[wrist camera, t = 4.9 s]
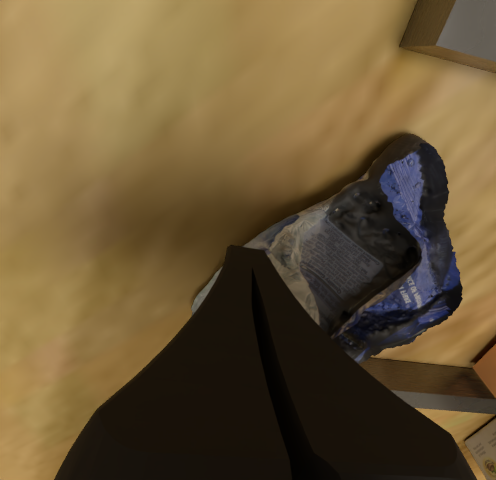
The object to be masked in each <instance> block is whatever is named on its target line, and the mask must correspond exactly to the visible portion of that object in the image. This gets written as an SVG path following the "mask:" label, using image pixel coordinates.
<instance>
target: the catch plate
mask: <svg viewBox="0 0 496 480" xmlns="http://www.w3.org/2000/svg"><path fill="white" fill-rule="evenodd" d="M472 368H473V369H474V370H475V372H476V373H477V374H478V375H479V377H480V378H481V379H482V381H483V382H484V383H485V385H486V386H487V387H488V389H489V390H490V391H491V393H492V394H493V395H494V397H495V398H496V344H495V345H494V346H493V347H492V348H491V349H490V350H489V351H488V352H487V353H486V354H485V355H484V356H483V357H482V358H481V359H480V360H479V361H478V362H477V363H476V364H475V365H474V366H473V367H472Z"/></svg>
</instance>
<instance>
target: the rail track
mask: <svg viewBox="0 0 496 480" xmlns="http://www.w3.org/2000/svg"><path fill="white" fill-rule="evenodd" d="M400 47H401V48H404V49H408V50H412V51H416V52H419V53H423V54H427V55H430V56H434V57H438V58H442V59H445V60H449V61H453V62H456V63H460V64H464V65H468V66H471V67H475V68H479V69H482V70H486V71H490V72H494V73H496V0H418V2H417V5H416V7H415V10H414V12H413V15H412V17H411V20H410V22H409V25H408V27H407V30H406V32H405V35H404V37H403V40H402V42H401V44H400ZM359 365H360V366H361V367H362V368H364V369H365V370H366V371H367V372H368V373H370V374H371V375H372V376H373V377H374V378H375V379H377V380H378V381H379V382H381V383H382V384H383V385H384V386H386V387H387V388H388V389H389V390H391V391H392V392H393V393H394V394H396V395H397V396H398V397H400V398H401V399H402V400H403V401H405V402H406V403H408V404H409V405H411V406H412V407H413V408H425V409H437V410H449V411H461V412H474V413H486V414H496V398H495V397H494V395H493V394H492V393H491V391H490V390H489V389H488V387H487V386H486V385H485V383H484V382H483V381H482V379H481V378H480V377H479V375H478V374H477V373H476V372H475V370H474V369H470V368H460V367H451V366H441V365H432V364H422V363H413V362H403V361H394V360H384V359H375V358H369V359H368V360H367V361H363V362H362V363H360V364H359Z"/></svg>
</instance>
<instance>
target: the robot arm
mask: <svg viewBox="0 0 496 480" xmlns="http://www.w3.org/2000/svg"><path fill="white" fill-rule="evenodd" d="M54 480H477V479H476V477H475V475H474V473H473V472H472V470H471V468H470V466H469V464H468V463H467V461H466V459H465V457H464V456H463V454H462V452H461V450H460V449H459V447H458V445H457V443H456V442H455V440H454V438H453V437H452V435H451V434H450V433H449V432H447V431H446V430H444V429H443V428H442V427H440V426H439V425H437V424H436V423H434V422H433V421H432V420H430V419H429V418H427V417H426V416H425V415H423V414H422V413H420V412H419V411H418V410H416V409H415V408H413V407H412V406H411V405H409V404H408V403H406V402H405V401H403V400H402V399H401V398H400V397H398V396H397V395H396V394H394V393H393V392H392V391H391V390H389V389H388V388H387V387H386V386H384V385H383V384H382V383H381V382H379V381H378V380H377V379H375V378H374V377H373V376H372V375H371V374H370V373H368V372H367V371H366V370H365V369H364V368H362V367H361V366H360V365H359V364H358V363H357V362H356V361H355V360H353V359H352V358H351V357H350V356H349V355H348V354H347V353H346V352H345V351H344V350H343V349H341V348H340V347H339V346H338V345H337V344H336V343H335V342H334V341H333V340H332V339H331V338H330V337H329V336H328V335H327V334H326V333H325V331H324V330H323V329H322V328H321V327H320V326H319V325H318V324H317V323H316V322H315V321H314V320H313V318H312V317H311V316H310V315H309V314H308V313H307V311H306V310H305V309H304V308H303V306H302V305H301V304H300V303H299V301H298V300H297V299H296V298H295V296H294V295H293V293H292V292H291V291H290V289H289V288H288V286H287V285H286V283H285V282H284V281H283V279H282V278H281V276H280V275H279V273H278V271H277V270H276V268H275V267H274V265H273V264H272V262H271V260H270V259H269V257H268V256H267V254H266V252H265V251H264V250H260V249H254V248H247V247H240V246H234V245H231V246H229V247H228V248H227V253H226V258H225V262H224V264H223V267H222V269H221V271H220V273H219V275H218V277H217V279H216V281H215V283H214V284H213V286H212V288H211V289H210V291H209V292H208V294H207V296H206V297H205V299H204V300H203V302H202V303H201V305H200V306H199V307H198V309H197V310H196V312H195V313H194V314H193V315H192V317H191V318H190V319H189V321H188V322H187V323H186V324H185V325H184V326H183V328H182V329H181V330H180V331H179V332H178V334H177V335H176V336H175V337H174V338H173V339H172V340H171V341H170V342H169V344H168V345H167V346H166V347H165V348H164V349H163V350H162V351H161V352H160V353H159V354H158V355H157V356H156V357H155V358H154V359H153V360H152V361H151V362H150V363H149V364H148V365H147V366H146V367H145V368H143V369H142V370H141V371H140V372H139V373H138V374H137V375H136V376H135V377H134V378H133V379H131V380H130V381H129V382H128V383H127V384H126V385H124V386H123V387H122V388H121V389H120V390H119V391H118V392H116V393H115V394H114V395H113V396H112V397H111V398H109V399H108V400H107V401H106V402H105V403H104V404H102V405H101V406H100V407H99V408H98V409H97V410H96V411H95V413H94V414H93V415H92V417H91V418H90V420H89V421H88V423H87V424H86V426H85V427H84V429H83V430H82V432H81V433H80V435H79V436H78V438H77V439H76V441H75V443H74V444H73V446H72V447H71V449H70V451H69V452H68V454H67V456H66V458H65V460H64V461H63V463H62V465H61V467H60V469H59V471H58V473H57V475H56V477H55V479H54Z"/></svg>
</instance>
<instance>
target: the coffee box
mask: <svg viewBox="0 0 496 480" xmlns="http://www.w3.org/2000/svg"><path fill="white" fill-rule="evenodd" d="M465 444H466V446H467V447H468V449H469V451H470V452H471V454H472V456H473V457H474V459H475V461H476V462H477V464H478V466H479V467H480V469H481V471H482V472H483V474H484V476H485V478H486V479H487V480H496V418H495V419H494V420H493V421H491V422H490V423H488V424H487V425H486V426H485V427H483V428H482V429H481V430H479V431H478V432H477V433H475V434H474V435H472V436H471V437H470V438H468V439H467V440H466V441H465Z"/></svg>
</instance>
